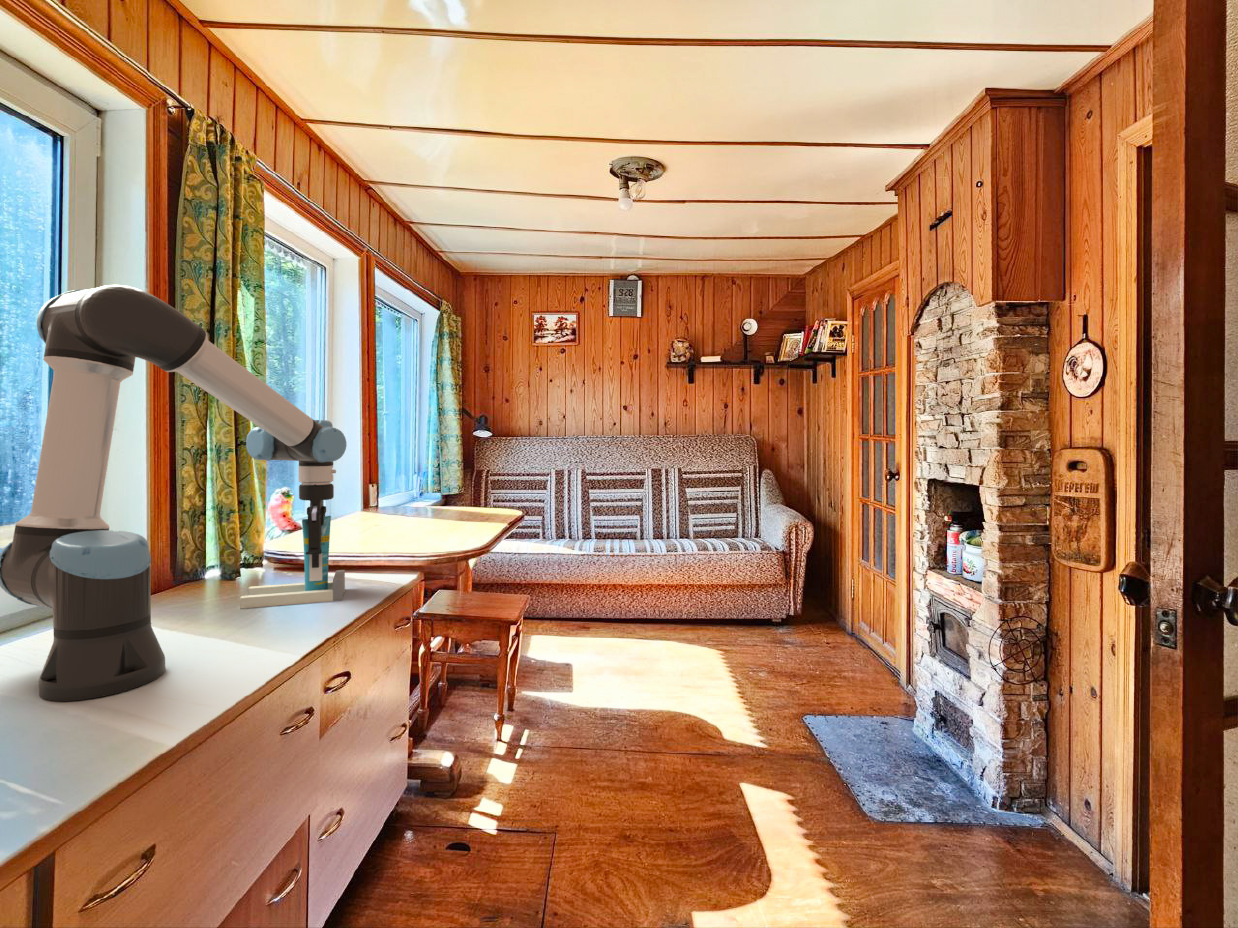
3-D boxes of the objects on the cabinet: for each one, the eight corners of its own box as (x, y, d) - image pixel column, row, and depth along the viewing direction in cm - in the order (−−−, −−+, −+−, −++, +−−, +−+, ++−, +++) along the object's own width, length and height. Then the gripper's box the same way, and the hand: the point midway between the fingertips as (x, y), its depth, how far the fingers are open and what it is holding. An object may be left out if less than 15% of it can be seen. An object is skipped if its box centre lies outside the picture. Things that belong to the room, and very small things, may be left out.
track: (342, 600, 141) (342, 579, 141) (240, 608, 133) (239, 586, 133) (344, 589, 151) (344, 569, 151) (250, 596, 144) (250, 576, 143)
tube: (310, 599, 140) (309, 519, 139) (296, 597, 142) (295, 518, 141) (336, 592, 147) (336, 516, 146) (322, 590, 148) (322, 514, 148)
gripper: (330, 485, 136) (331, 585, 137) (336, 480, 153) (336, 569, 154) (293, 486, 133) (294, 587, 134) (303, 480, 150) (304, 571, 151)
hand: (317, 577), depth 144 cm, fingers closed on tube, 5 cm apart
